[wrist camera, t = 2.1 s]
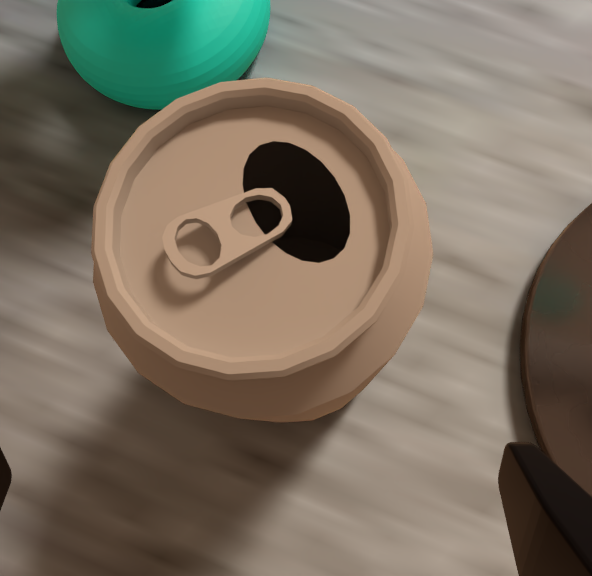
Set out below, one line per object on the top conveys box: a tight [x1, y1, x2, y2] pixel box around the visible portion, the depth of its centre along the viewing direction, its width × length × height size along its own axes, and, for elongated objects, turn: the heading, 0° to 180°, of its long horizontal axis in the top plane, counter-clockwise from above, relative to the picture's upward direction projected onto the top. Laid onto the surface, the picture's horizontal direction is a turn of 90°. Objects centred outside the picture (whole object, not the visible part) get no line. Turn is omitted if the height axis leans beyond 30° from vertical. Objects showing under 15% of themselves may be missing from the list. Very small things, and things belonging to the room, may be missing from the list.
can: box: [91, 78, 433, 423], centre depth 15 cm, size 8×8×12 cm
